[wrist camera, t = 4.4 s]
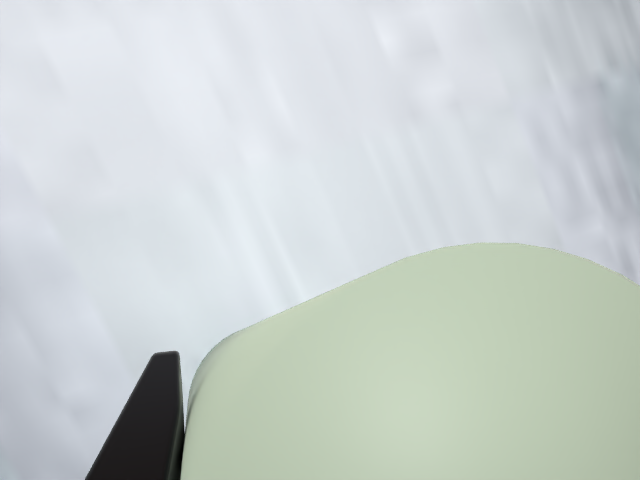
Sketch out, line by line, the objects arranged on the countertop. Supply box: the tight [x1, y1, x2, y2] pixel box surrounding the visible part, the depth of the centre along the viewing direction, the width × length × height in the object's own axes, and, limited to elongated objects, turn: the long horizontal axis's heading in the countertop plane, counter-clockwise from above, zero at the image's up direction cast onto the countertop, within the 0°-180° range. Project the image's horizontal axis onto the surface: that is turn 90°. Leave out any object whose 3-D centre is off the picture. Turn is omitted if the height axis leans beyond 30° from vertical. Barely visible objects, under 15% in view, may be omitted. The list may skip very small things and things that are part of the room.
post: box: [180, 243, 640, 480], centre depth 10 cm, size 4×4×13 cm
